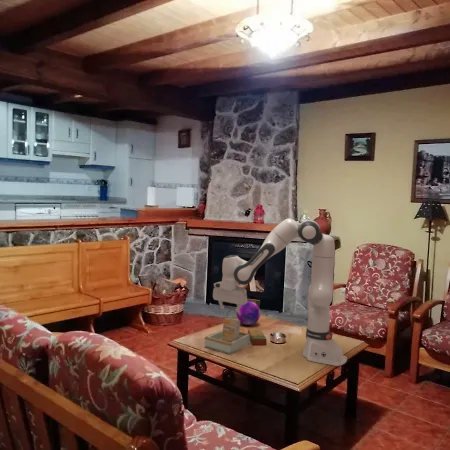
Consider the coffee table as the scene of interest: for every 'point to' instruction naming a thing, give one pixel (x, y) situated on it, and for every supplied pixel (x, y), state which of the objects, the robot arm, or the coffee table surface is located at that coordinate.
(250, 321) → the decorative orb
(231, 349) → the crate
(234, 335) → the supplement box
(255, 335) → the carton
